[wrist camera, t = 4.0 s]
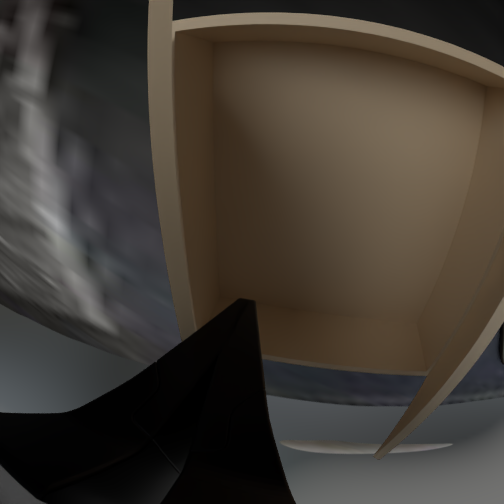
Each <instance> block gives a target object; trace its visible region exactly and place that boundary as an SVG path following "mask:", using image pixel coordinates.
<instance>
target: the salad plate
mask: <svg viewBox="0 0 504 504" xmlns="http://www.w3.org/2000/svg"><path fill="white" fill-rule="evenodd" d="M500 358H501V362H502V363H503V364H504V322H503V324H502V325H501V331H500Z"/></svg>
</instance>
